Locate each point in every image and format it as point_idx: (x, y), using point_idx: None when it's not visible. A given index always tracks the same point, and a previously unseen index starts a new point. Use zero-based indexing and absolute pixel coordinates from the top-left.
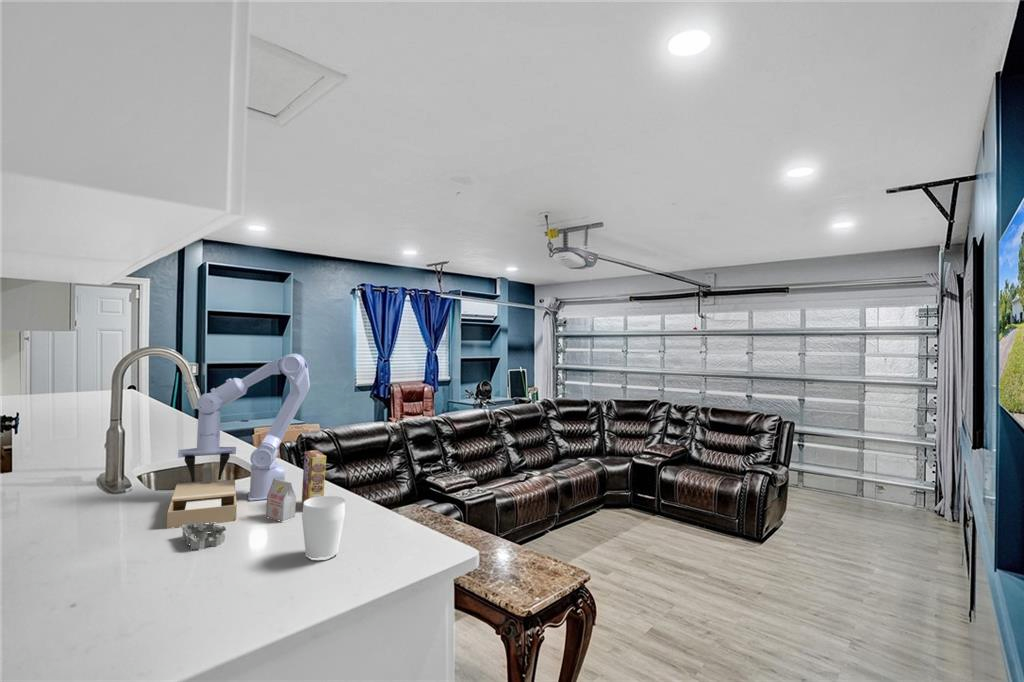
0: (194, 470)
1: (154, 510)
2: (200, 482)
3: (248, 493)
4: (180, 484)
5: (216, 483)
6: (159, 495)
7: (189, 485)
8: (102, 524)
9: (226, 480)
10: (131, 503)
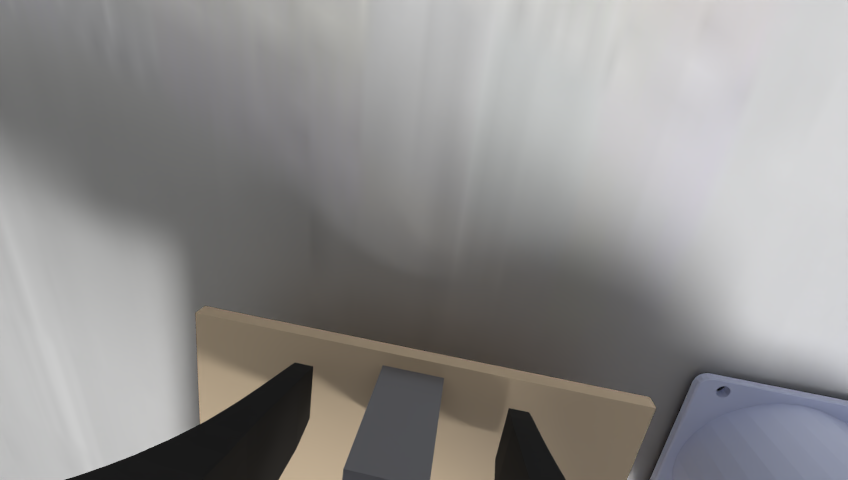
0: (260, 443)
1: (182, 395)
2: (367, 361)
3: (691, 408)
4: (223, 342)
5: (478, 452)
6: (157, 85)
7: None
8: (31, 464)
9: (576, 407)
10: (43, 203)
